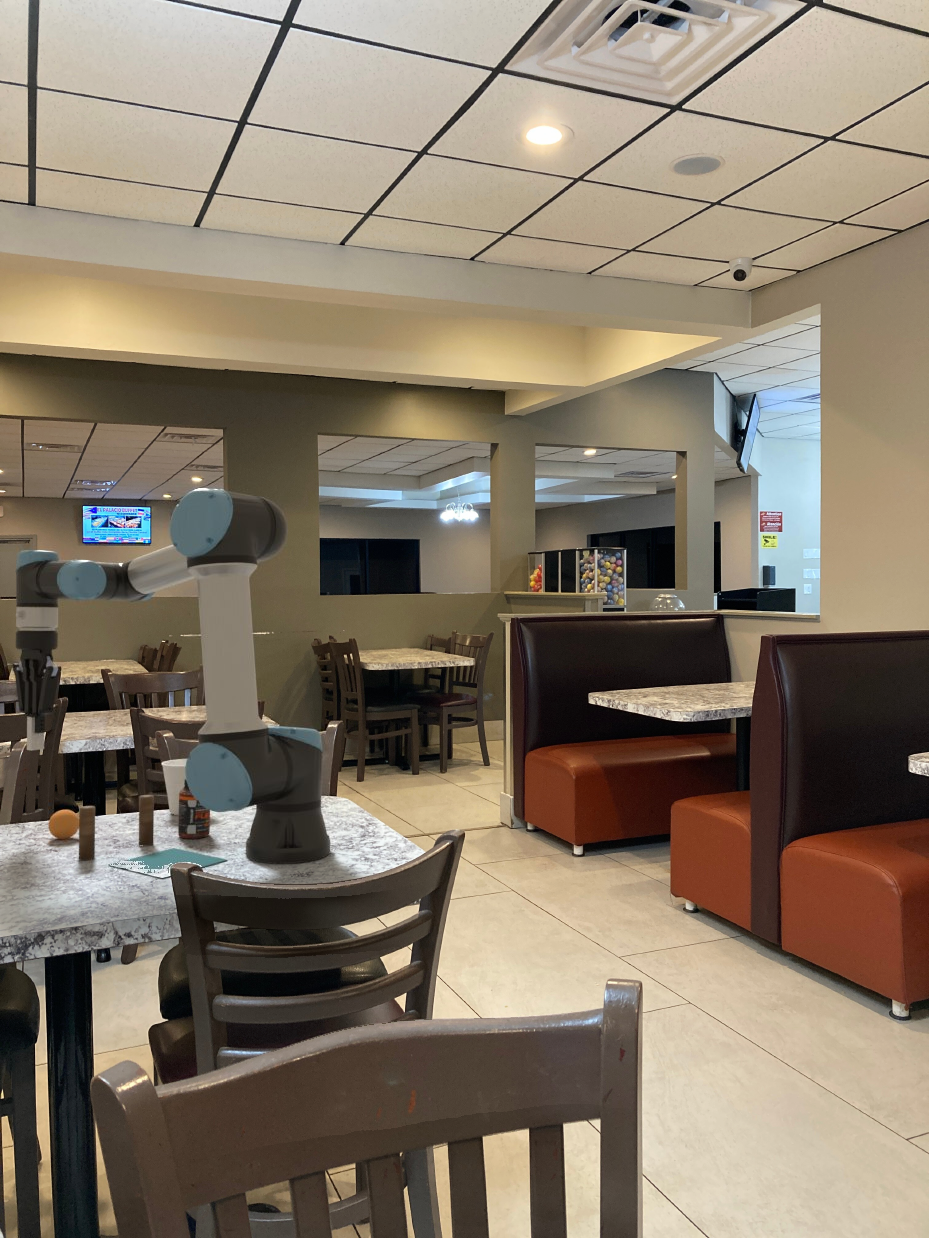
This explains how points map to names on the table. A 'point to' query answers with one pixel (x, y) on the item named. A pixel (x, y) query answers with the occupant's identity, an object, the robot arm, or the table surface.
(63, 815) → the ball
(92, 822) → the post left
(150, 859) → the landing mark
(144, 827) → the post right
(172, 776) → the cup
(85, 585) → the robot arm
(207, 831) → the supplement bottle
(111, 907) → the table surface
